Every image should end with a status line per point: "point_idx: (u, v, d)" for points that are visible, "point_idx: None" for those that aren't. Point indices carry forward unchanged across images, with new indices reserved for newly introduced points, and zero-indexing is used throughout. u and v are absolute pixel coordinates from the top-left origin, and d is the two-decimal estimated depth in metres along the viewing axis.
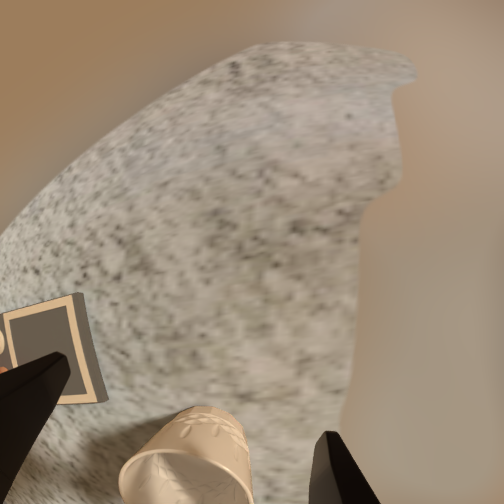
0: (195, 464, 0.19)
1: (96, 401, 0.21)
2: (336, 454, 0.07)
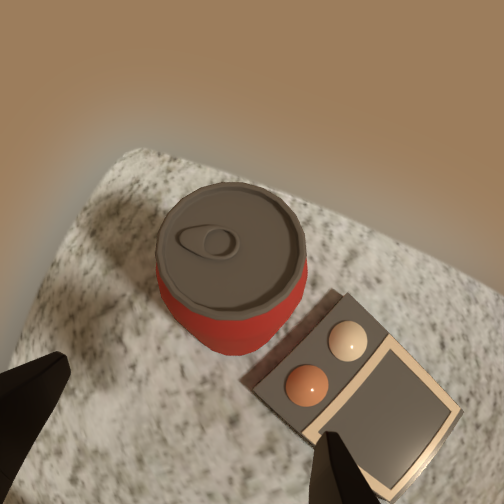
0: None
1: (388, 500, 0.14)
2: (336, 454, 0.07)
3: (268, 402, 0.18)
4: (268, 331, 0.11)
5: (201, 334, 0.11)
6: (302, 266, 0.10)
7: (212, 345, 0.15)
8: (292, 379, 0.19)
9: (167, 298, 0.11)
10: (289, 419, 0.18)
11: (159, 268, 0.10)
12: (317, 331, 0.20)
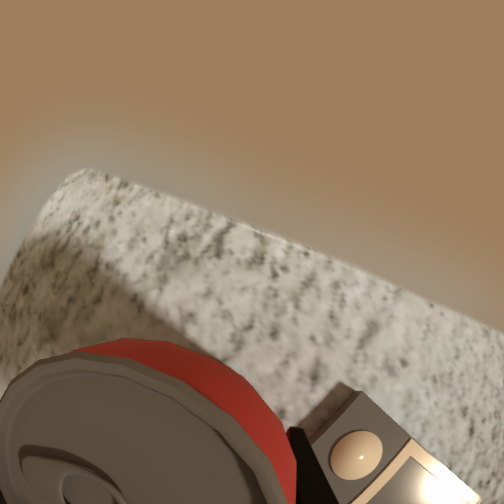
0: None
1: None
2: (298, 451, 0.07)
3: None
4: None
5: None
6: None
7: None
8: None
9: None
10: None
11: None
12: (315, 447, 0.12)
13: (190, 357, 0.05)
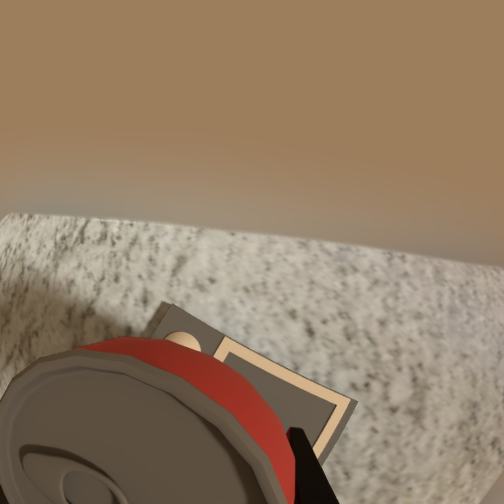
0: None
1: None
2: (298, 451, 0.07)
3: None
4: None
5: None
6: None
7: None
8: None
9: None
10: None
11: None
12: None
13: (189, 354, 0.05)
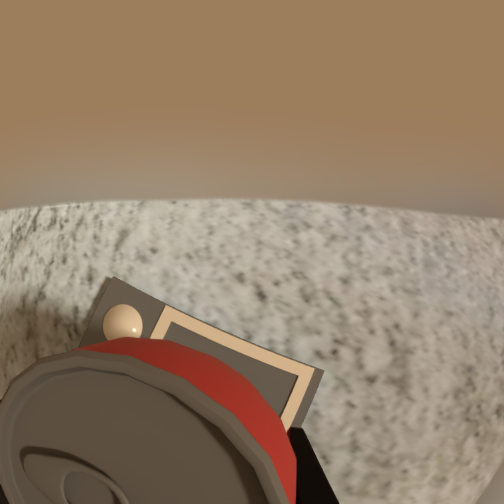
0: None
1: None
2: (297, 451, 0.07)
3: None
4: None
5: None
6: None
7: None
8: None
9: None
10: None
11: None
12: (92, 323, 0.18)
13: (190, 355, 0.05)
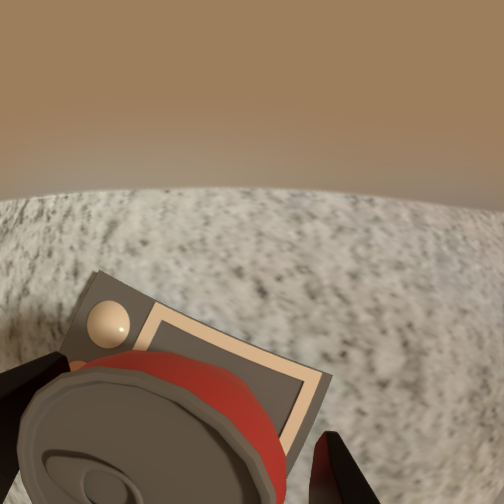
0: None
1: None
2: (336, 454, 0.07)
3: None
4: None
5: None
6: None
7: None
8: None
9: None
10: None
11: (32, 503, 0.03)
12: (75, 322, 0.16)
13: (192, 367, 0.06)
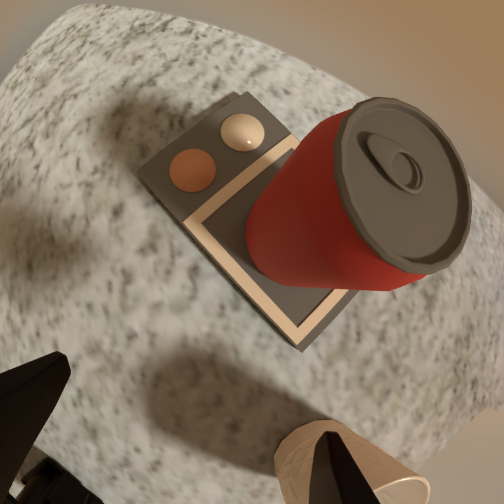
0: None
1: (295, 343, 0.18)
2: (336, 454, 0.07)
3: (150, 185, 0.18)
4: (393, 289, 0.09)
5: (327, 262, 0.09)
6: (465, 241, 0.08)
7: (292, 270, 0.12)
8: (177, 161, 0.18)
9: (314, 201, 0.08)
10: (170, 205, 0.18)
11: (338, 162, 0.07)
12: (209, 119, 0.19)
13: None
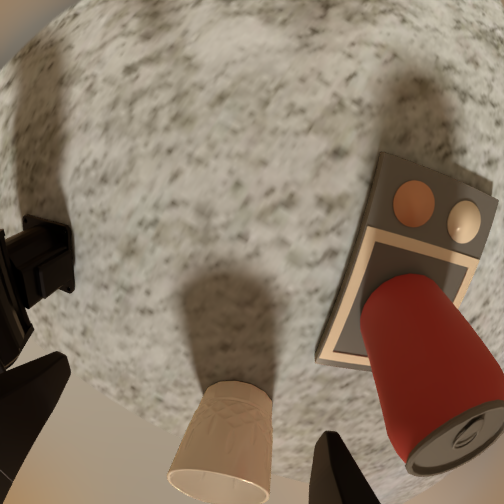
0: None
1: (319, 356, 0.21)
2: (336, 454, 0.07)
3: (381, 175, 0.16)
4: None
5: (397, 418, 0.10)
6: (433, 474, 0.09)
7: (380, 367, 0.14)
8: (414, 185, 0.16)
9: (432, 407, 0.09)
10: (375, 205, 0.17)
11: (458, 422, 0.07)
12: (462, 186, 0.15)
13: None
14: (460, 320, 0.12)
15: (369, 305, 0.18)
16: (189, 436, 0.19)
